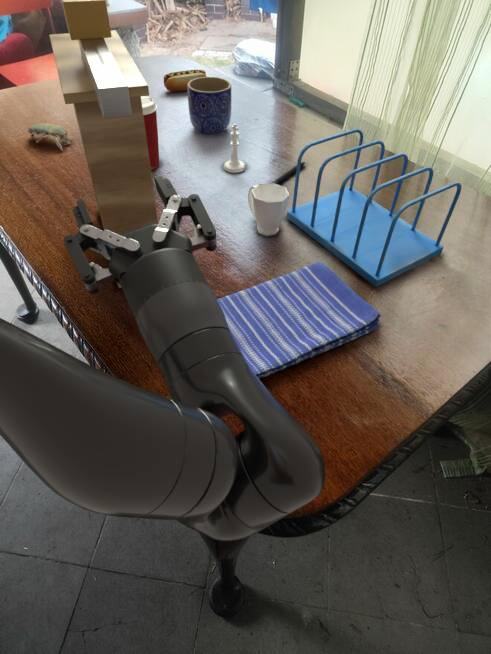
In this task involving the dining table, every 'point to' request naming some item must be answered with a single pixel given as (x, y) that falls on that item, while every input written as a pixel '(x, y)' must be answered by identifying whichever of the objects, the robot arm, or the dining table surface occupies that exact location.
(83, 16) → the mallet
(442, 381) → the dining table surface
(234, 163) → the chess piece
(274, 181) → the pen
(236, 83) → the dining table surface
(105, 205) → the stand
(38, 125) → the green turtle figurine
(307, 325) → the dish towel
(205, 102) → the planter
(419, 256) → the file sorter
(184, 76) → the hot dog
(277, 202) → the cup
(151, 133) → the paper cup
